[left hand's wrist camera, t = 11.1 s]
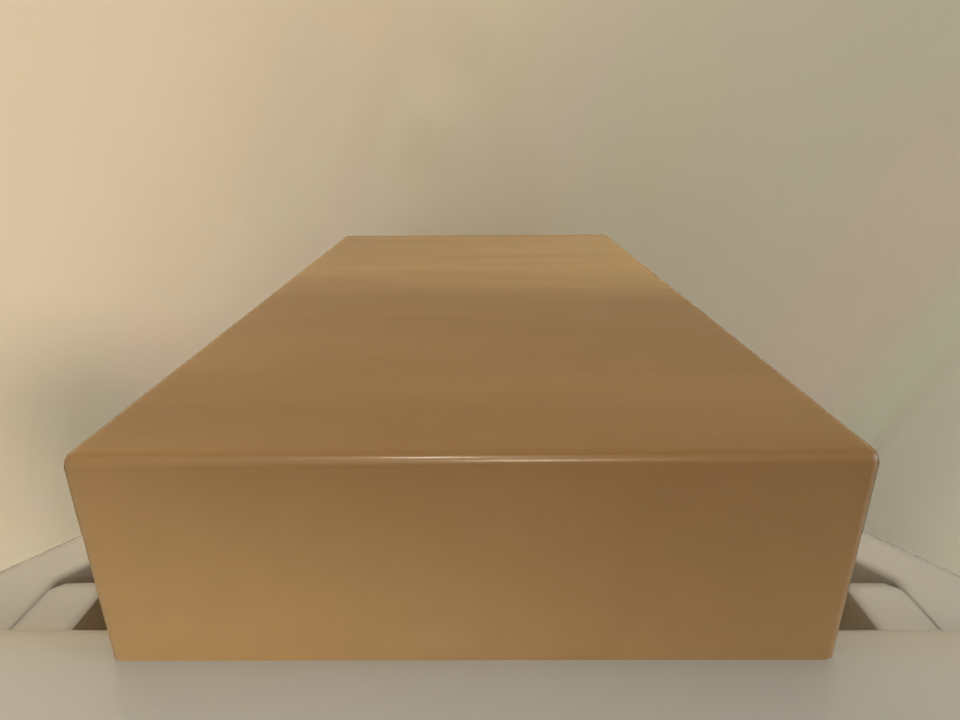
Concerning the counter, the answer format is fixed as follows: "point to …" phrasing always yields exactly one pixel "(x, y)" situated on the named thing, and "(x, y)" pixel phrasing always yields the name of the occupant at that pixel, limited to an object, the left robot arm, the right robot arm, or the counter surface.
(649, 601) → the bar
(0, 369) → the counter surface
